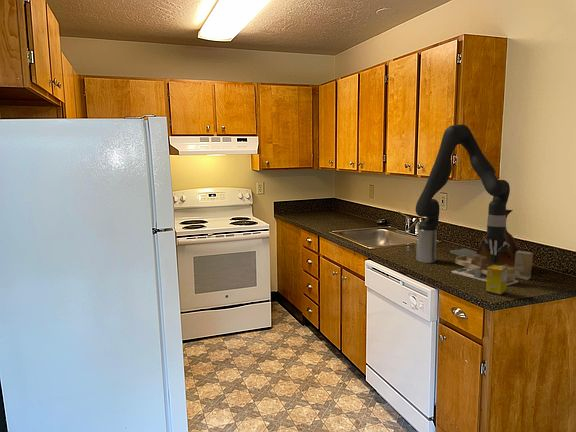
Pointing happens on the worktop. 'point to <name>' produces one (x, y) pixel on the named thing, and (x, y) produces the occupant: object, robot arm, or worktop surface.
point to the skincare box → (523, 265)
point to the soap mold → (464, 252)
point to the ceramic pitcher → (504, 258)
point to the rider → (479, 260)
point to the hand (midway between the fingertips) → (494, 262)
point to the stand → (476, 275)
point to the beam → (467, 263)
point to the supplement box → (496, 280)
